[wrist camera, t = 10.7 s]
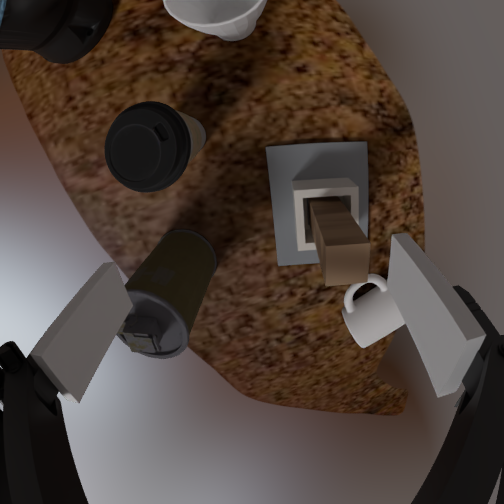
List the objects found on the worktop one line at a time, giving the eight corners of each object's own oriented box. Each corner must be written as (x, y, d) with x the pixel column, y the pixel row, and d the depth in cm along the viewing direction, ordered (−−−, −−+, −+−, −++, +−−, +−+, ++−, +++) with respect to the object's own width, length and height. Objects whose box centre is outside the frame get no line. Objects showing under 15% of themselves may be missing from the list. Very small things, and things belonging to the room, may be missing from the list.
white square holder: (291, 181, 38) (293, 190, 33) (348, 177, 37) (358, 186, 32) (295, 234, 42) (297, 251, 37) (348, 230, 41) (357, 246, 36)
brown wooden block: (307, 195, 38) (325, 246, 24) (336, 194, 37) (370, 242, 23) (309, 223, 40) (325, 286, 25) (336, 221, 39) (367, 282, 25)
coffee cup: (230, 124, 36) (203, 128, 23) (197, 180, 40) (158, 214, 27) (174, 94, 35) (121, 86, 21) (145, 150, 38) (86, 170, 25)
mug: (403, 298, 46) (419, 326, 39) (358, 326, 50) (367, 356, 42) (376, 251, 43) (392, 276, 36) (325, 284, 46) (333, 314, 39)
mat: (265, 146, 37) (265, 147, 36) (365, 141, 35) (366, 141, 35) (278, 263, 45) (278, 265, 44) (364, 256, 43) (366, 258, 42)
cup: (239, 68, 32) (220, 45, 20) (182, 32, 30) (142, 2, 18) (288, 18, 28) (292, -24, 16) (229, -16, 26) (209, -62, 14)
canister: (211, 226, 43) (167, 306, 25) (221, 285, 48) (192, 378, 30) (148, 231, 44) (80, 303, 27) (162, 285, 49) (114, 368, 31)
